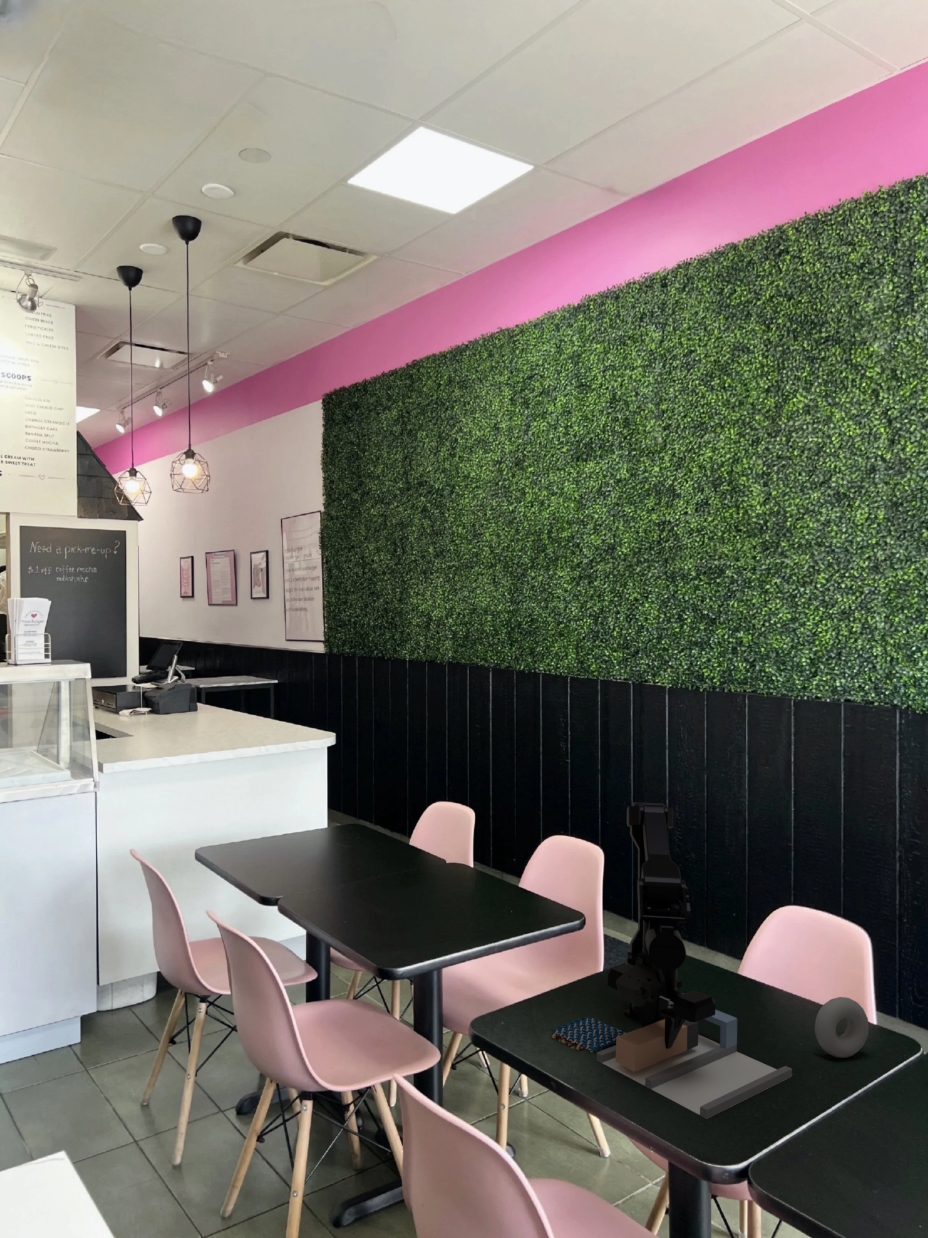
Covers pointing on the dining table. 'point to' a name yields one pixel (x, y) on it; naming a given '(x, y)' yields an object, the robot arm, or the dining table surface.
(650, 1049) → the two-tone brown block
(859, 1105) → the dining table surface
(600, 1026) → the woven mat
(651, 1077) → the grey tray
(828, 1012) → the donut
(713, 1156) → the dining table surface
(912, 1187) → the dining table surface
